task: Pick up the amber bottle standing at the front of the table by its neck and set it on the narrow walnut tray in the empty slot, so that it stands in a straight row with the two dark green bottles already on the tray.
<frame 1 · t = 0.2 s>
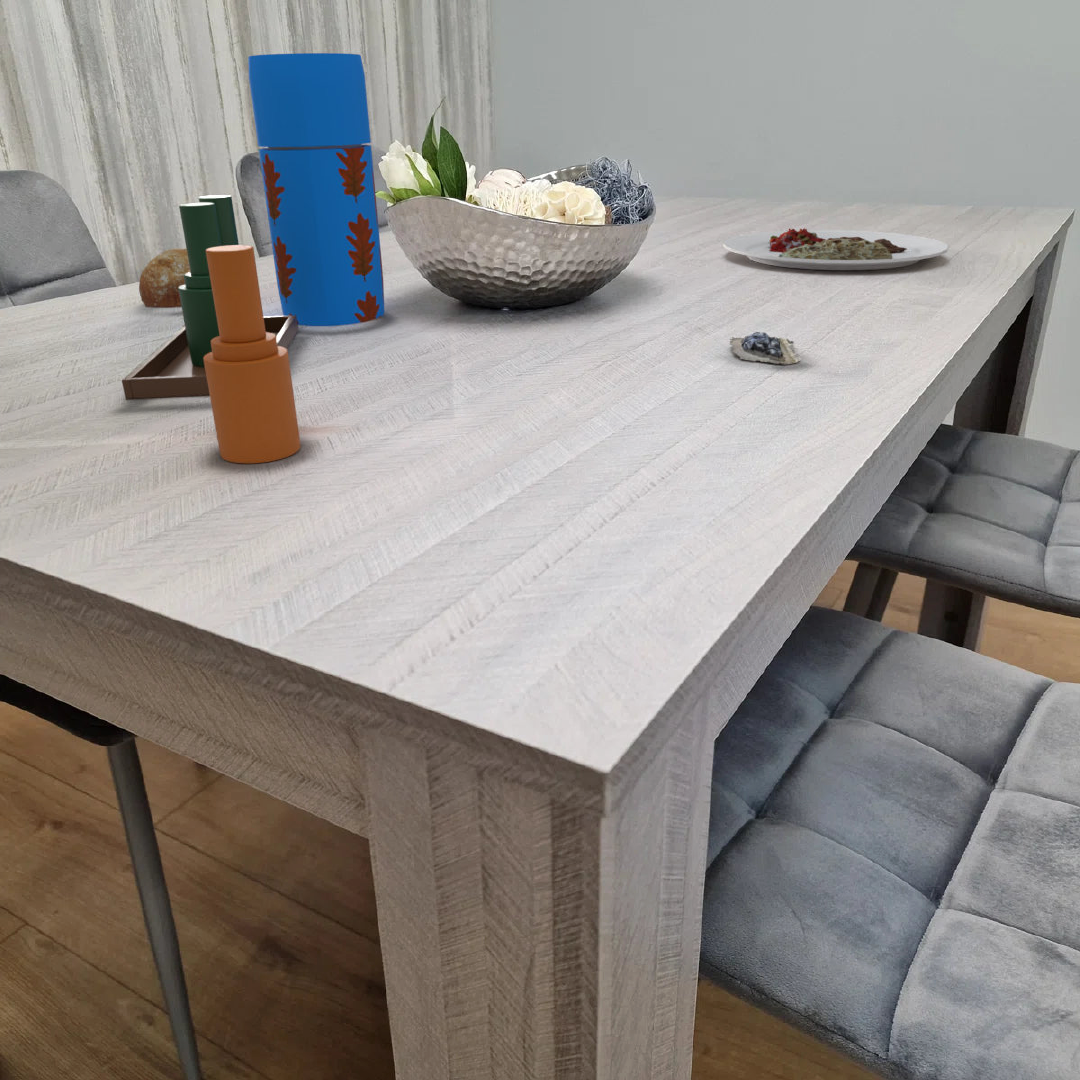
green bottle 2: (238, 342, 89), point 1 cm above the table, touching tray
plated food: (831, 258, 132), on the table
tray: (223, 367, 83), on the table
thermos: (335, 322, 100), on the table
bread roll: (191, 305, 110), on the table
blueberry tart: (767, 356, 83), on the table
green bottle 1: (222, 360, 82), point 1 cm above the table, touching tray
amber bottle: (260, 450, 62), on the table
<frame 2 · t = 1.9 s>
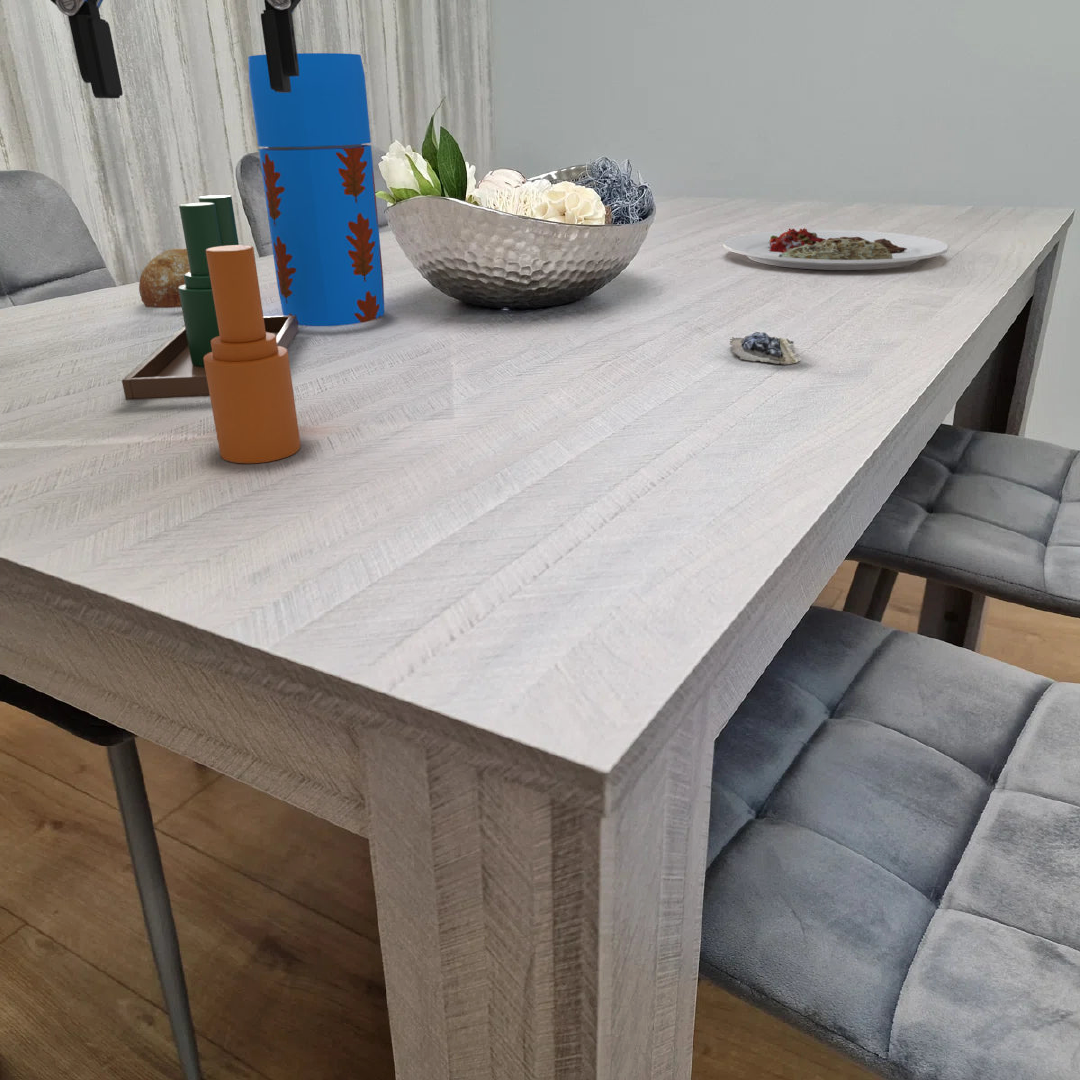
hand: (196, 94, 53), 21 cm above the table, tool pointing down, fingers open, 9 cm apart
nothing on the table moved.
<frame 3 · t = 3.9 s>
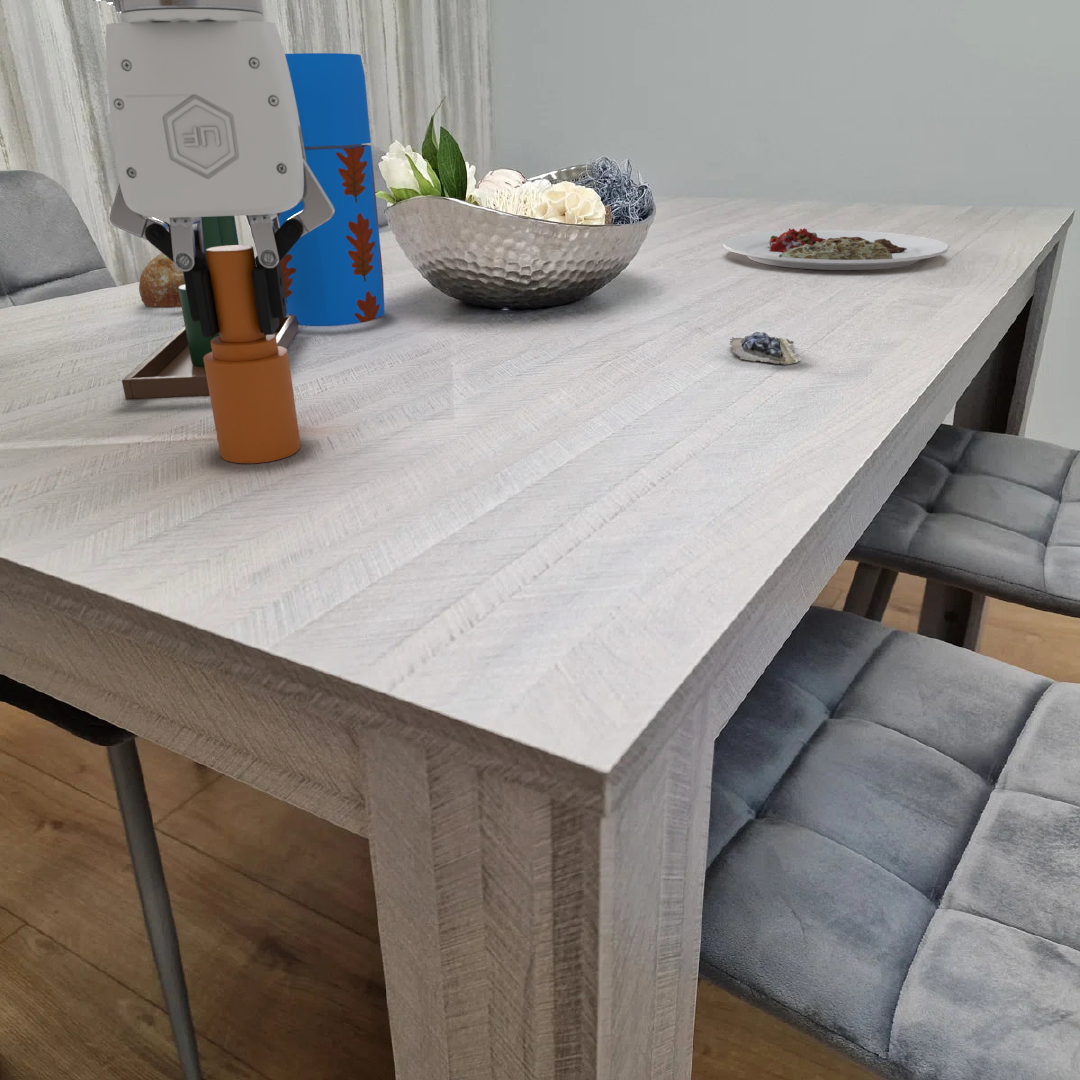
hand: (242, 328, 59), 8 cm above the table, tool pointing down, fingers closed on amber bottle, 2 cm apart
amber bottle: (260, 450, 62), on the table, touching gripper
everything else where it was.
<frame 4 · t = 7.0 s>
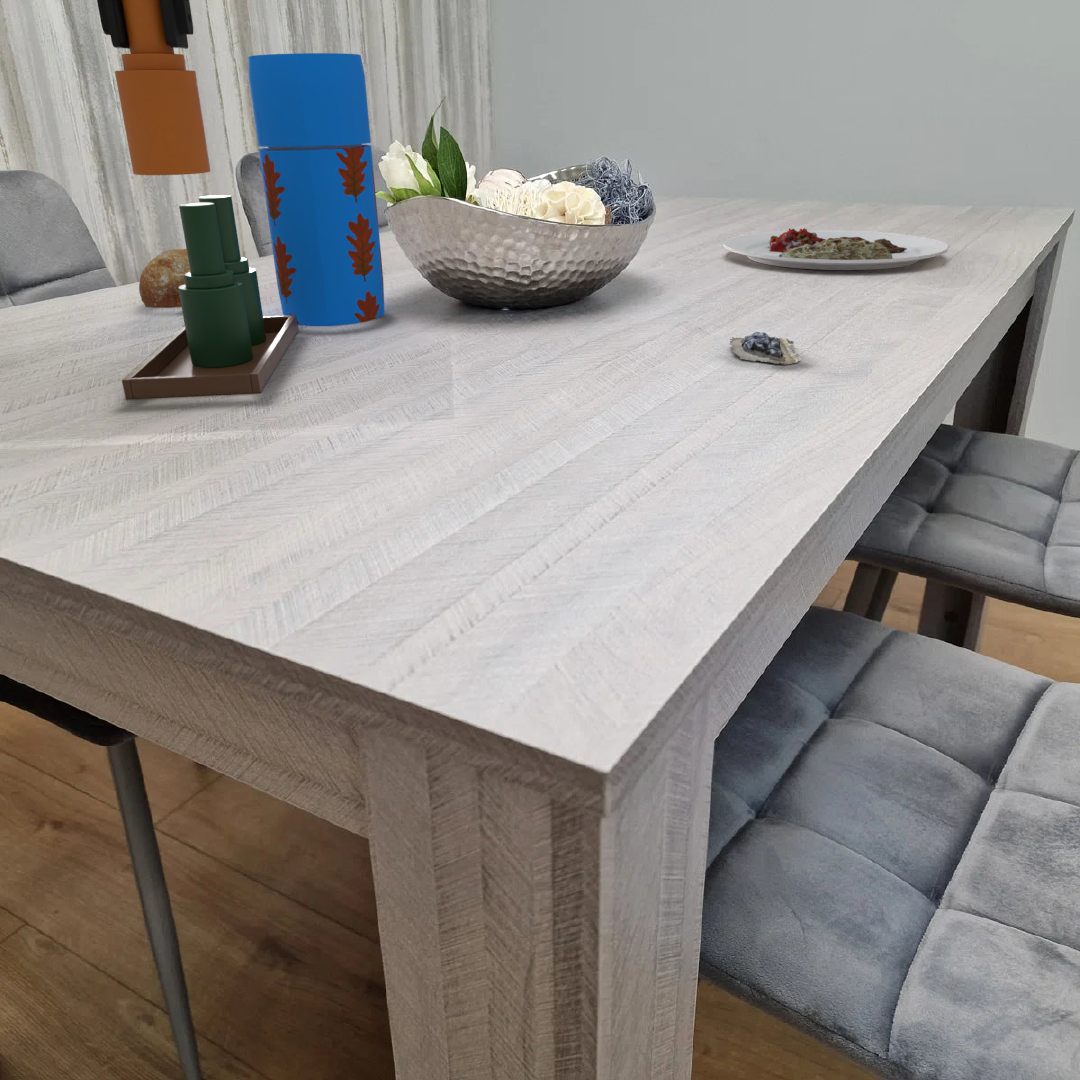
hand: (151, 45, 64), 25 cm above the table, tool pointing down, fingers closed on amber bottle, 2 cm apart
amber bottle: (172, 172, 67), point 17 cm above the table, touching gripper
everything else where it was.
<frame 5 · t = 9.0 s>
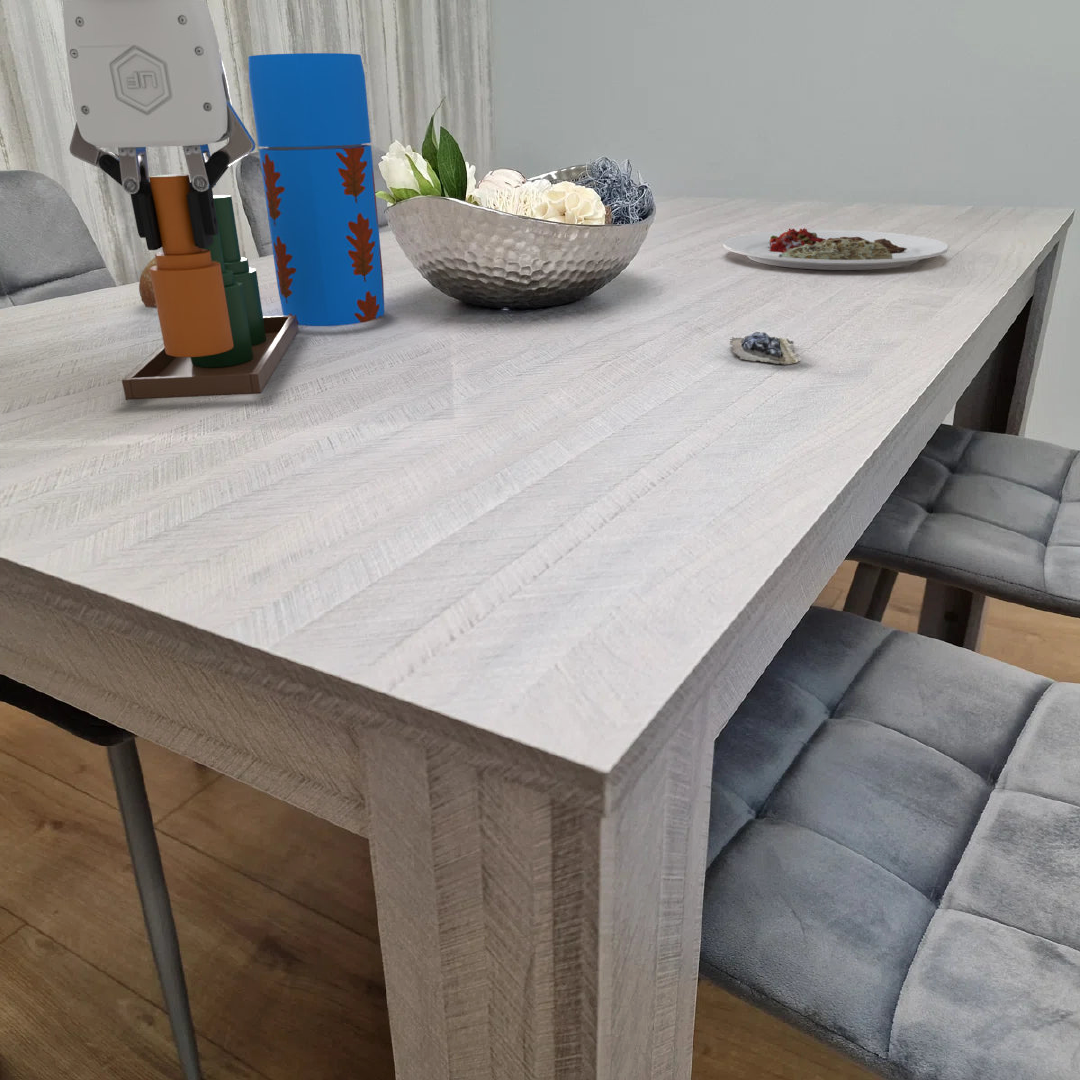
hand: (181, 244, 72), 11 cm above the table, tool pointing down, fingers closed on amber bottle, 2 cm apart
amber bottle: (200, 349, 75), point 3 cm above the table, touching gripper
everything else where it was.
when the fingers open (9 cm above the table, at t = 10.0 s): amber bottle stays where it is, resting on tray.
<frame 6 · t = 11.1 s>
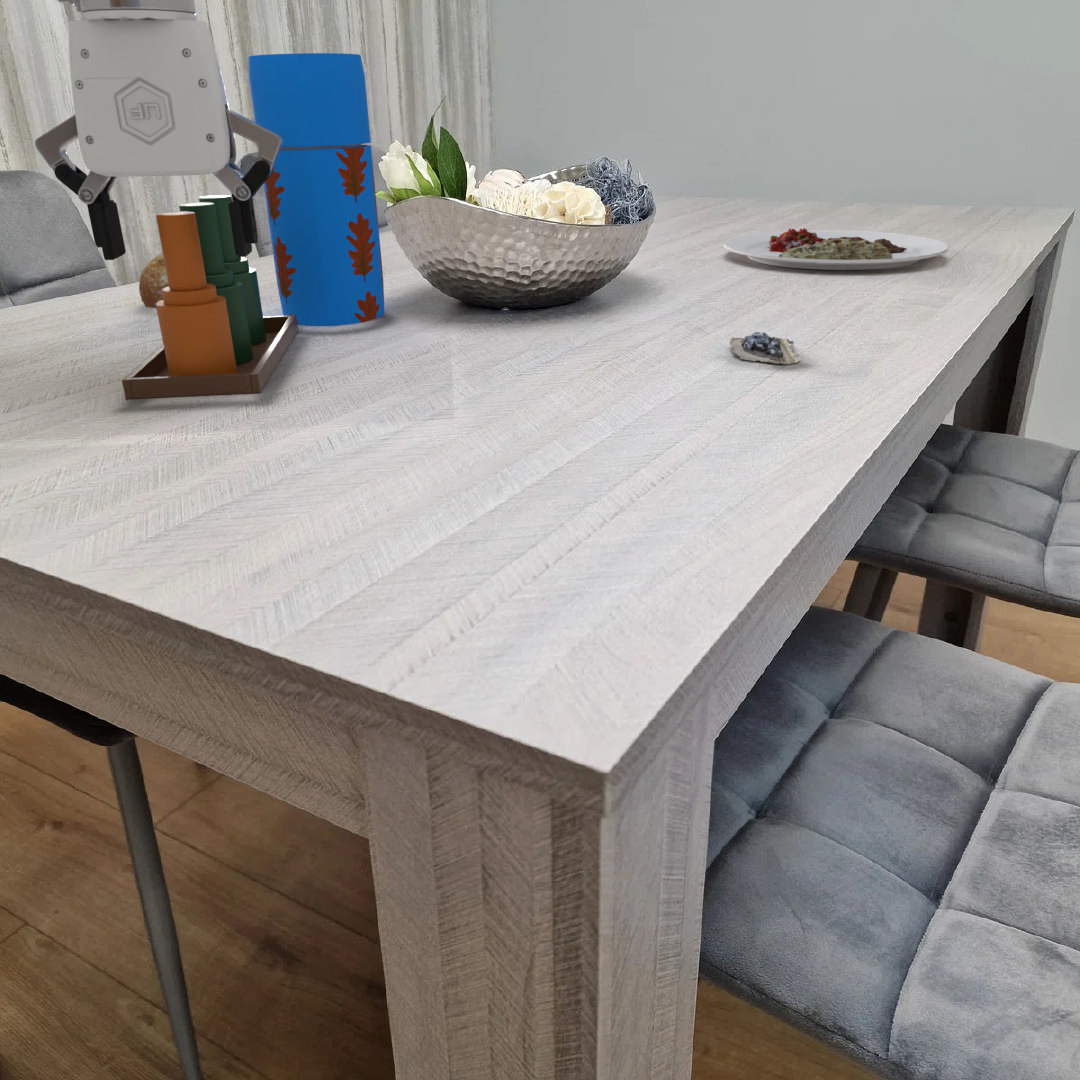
hand: (180, 255, 72), 11 cm above the table, tool pointing down, fingers open, 9 cm apart
amber bottle: (205, 381, 76), point 1 cm above the table, touching tray
everything else where it was.
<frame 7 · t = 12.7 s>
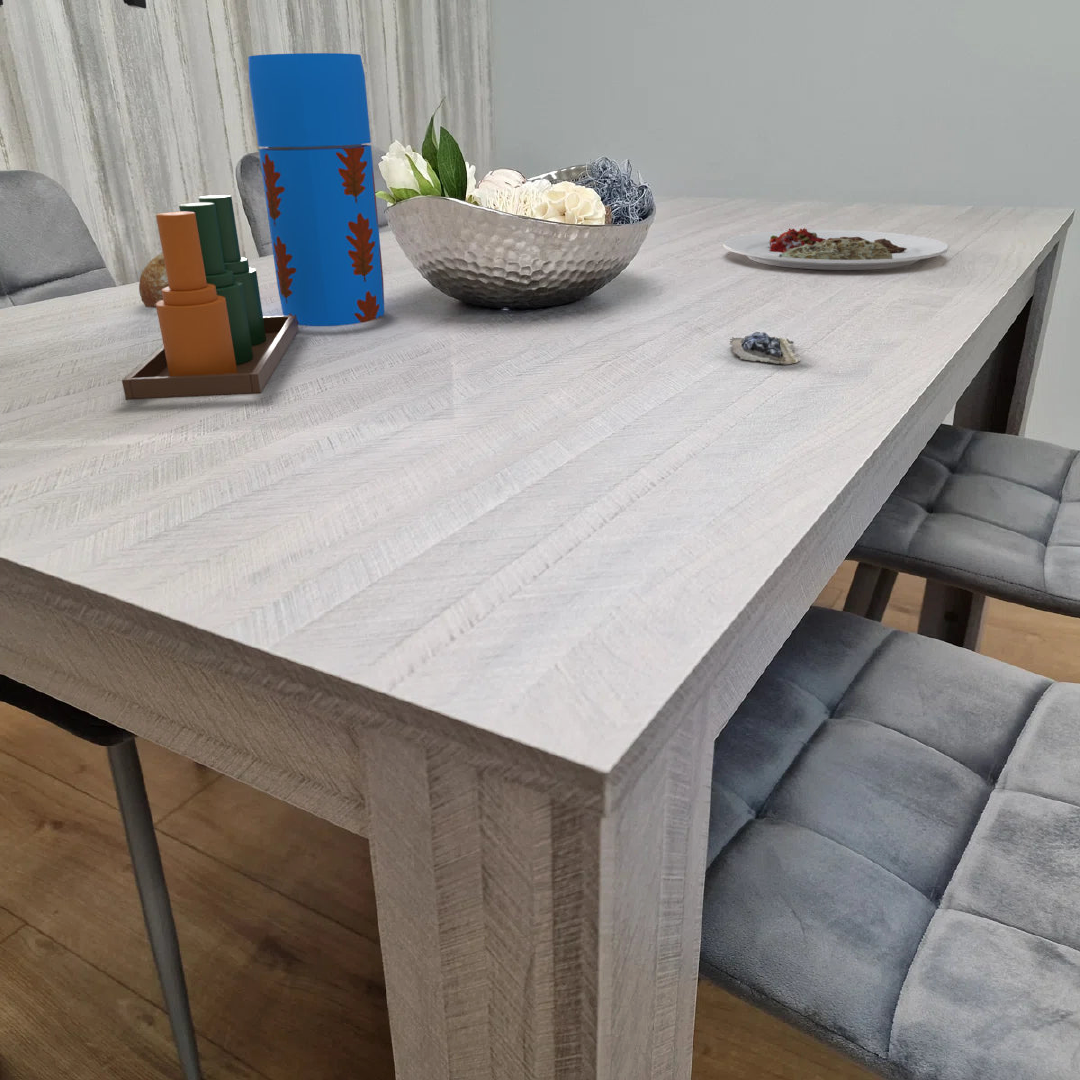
hand: (63, 6, 64), 27 cm above the table, tool pointing down, fingers open, 9 cm apart
nothing on the table moved.
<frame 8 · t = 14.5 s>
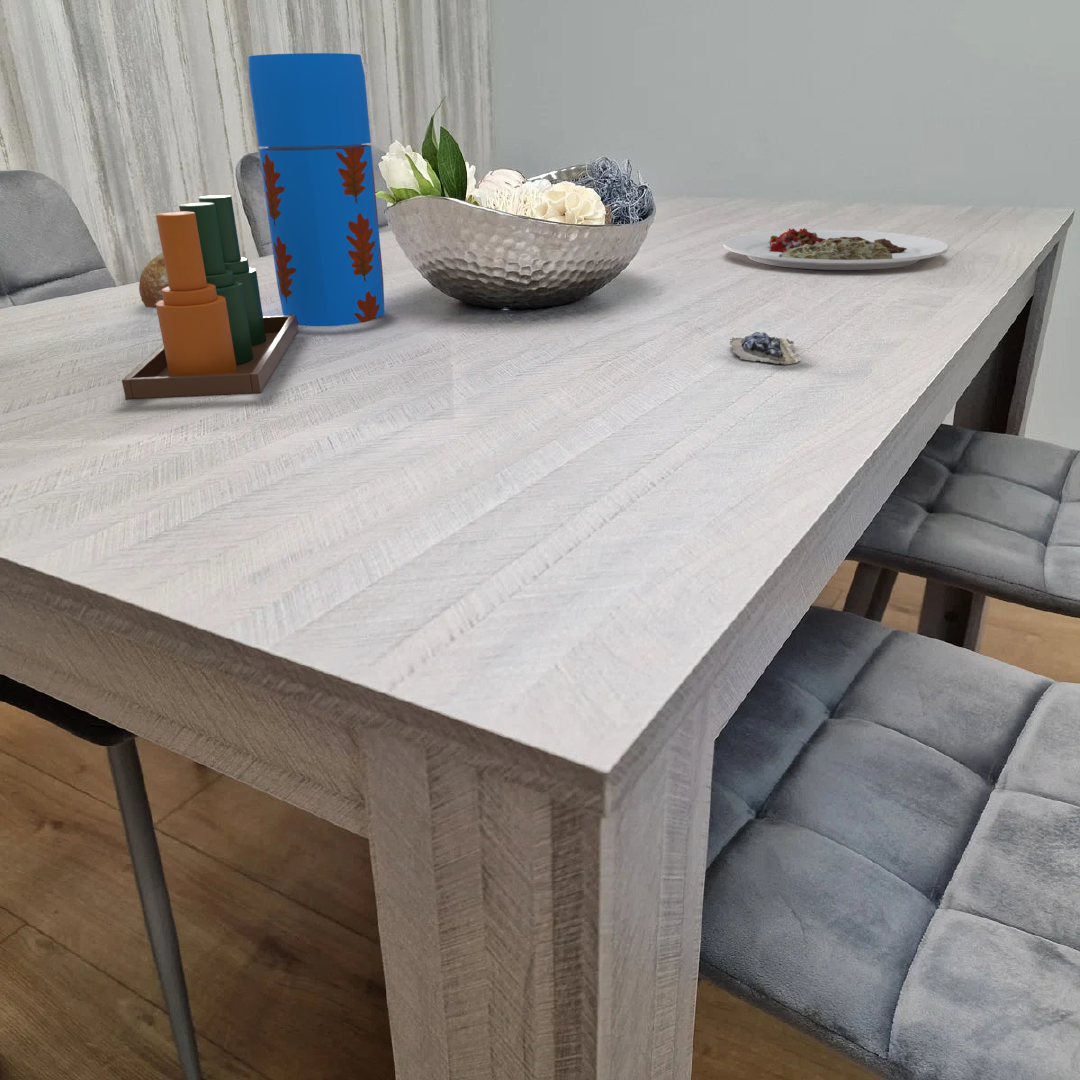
nothing on the table moved.
at the end: amber bottle 0.0 cm from the target spot in the tray, point 0.6 cm above the tray's base; amber bottle tilted 0°; the gripper is holding nothing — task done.
